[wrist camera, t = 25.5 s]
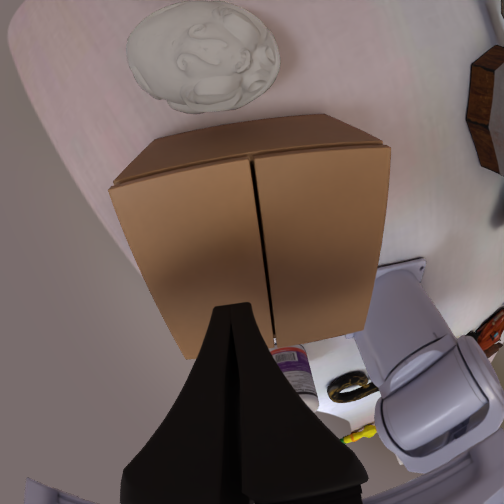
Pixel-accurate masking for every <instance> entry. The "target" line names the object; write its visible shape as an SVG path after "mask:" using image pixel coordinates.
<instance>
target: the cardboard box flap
mask: <svg viewBox="0 0 504 504" xmlns="http://www.w3.org/2000/svg"><path fill="white" fill-rule="evenodd" d="M108 192H109V194H110V197H111V200H112V203H113V206H114V208H115V211H116V214H117V216H118V219H119V221H120V224H121V227H122V229H123V232H124V234H125V237H126V239H127V241H128V244H129V246H130V249H131V251H132V253H133V256H134V258H135V260H136V262H137V265H138V267H139V269H140V271H141V274H142V276H143V278H144V280H145V282H146V284H147V286H148V288H149V291H150V293H151V295H152V297H153V299H154V301H155V303H156V305H157V307H158V309H159V311H160V313H161V315H162V317H163V319H164V321H165V322H166V324H167V326H168V328H169V330H170V332H171V334H172V336H173V337H174V339H175V341H176V343H177V345H178V346H179V348H180V350H181V352H182V353H183V355H184V357H185V359H186V360H187V359H196V358H197V356H198V353H199V351H200V348H201V346H202V343H203V340H204V338H205V335H206V332H207V329H208V325H209V322H210V318H211V315H212V310H213V308H214V307H215V306H222V305H229V304H235V303H242V302H249V303H251V305H252V310H253V314H254V317H255V320H256V323H257V325H258V328H259V330H260V333H261V335H262V337H263V339H264V341H265V343H266V345H267V347H268V349H269V348H274V347H275V346H274V339H273V331H272V323H271V315H270V307H269V300H268V292H267V285H266V277H265V270H264V262H263V255H262V247H261V240H260V233H259V225H258V218H257V211H256V204H255V197H254V190H253V183H252V175H251V169H250V162H249V158H248V157H240V158H234V159H228V160H223V161H217V162H212V163H207V164H201V165H196V166H192V167H187V168H182V169H177V170H173V171H169V172H164V173H160V174H156V175H152V176H148V177H144V178H140V179H136V180H132V181H128V182H125V183H121V184H118V185H114V186H111V187H110V188H109V190H108Z"/></svg>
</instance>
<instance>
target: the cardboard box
mask: <svg viewBox="0 0 504 504" xmlns="http://www.w3.org/2000/svg"><path fill="white" fill-rule="evenodd" d="M240 157H248V158H249V162H250V169H251V175H252V183H253V190H254V197H255V204H256V211H257V218H258V225H259V233H260V240H261V247H262V255H263V262H264V270H265V277H266V285H267V292H268V300H269V307H270V315H271V323H272V331H273V338H276V343H277V348H282V347H288V346H293V345H298V344H304V343H309V342H314V341H319V340H323V339H328V338H333V337H337V336H342V335H346V334H350V333H354V332H358V331H362V330H364V326H365V322H366V318H367V314H368V310H369V306H370V301H371V297H372V292H373V288H374V283H375V278H376V273H377V268H378V262H379V256H380V250H381V244H382V238H383V231H384V224H385V216H386V207H387V198H388V188H389V175H390V160H391V147H389V146H387V145H383V141H382V140H380V139H378V138H376V137H374V136H372V135H370V134H368V133H366V132H364V131H362V130H360V129H357V128H355V127H353V126H351V125H349V124H347V123H344V122H342V121H340V120H338V119H335V118H333V117H331V116H328V115H326V114H313V115H299V116H287V117H277V118H268V119H260V120H252V121H245V122H238V123H232V124H226V125H220V126H214V127H209V128H204V129H199V130H194V131H189V132H184V133H180V134H176V135H171V136H167V137H163V138H159V139H155V140H154V141H153V142H152V143H151V144H150V145H148V146H147V147H146V148H145V149H144V150H143V151H142V152H141V153H140V154H139V155H138V156H137V157H136V158H135V159H134V160H133V161H132V162H131V163H130V164H129V165H128V166H127V167H126V168H125V169H124V170H123V171H122V172H121V174H120V175H119V176H118V177H117V178H116V179H115V180H114V181H113V183H114V185H118V184H121V183H125V182H128V181H132V180H136V179H140V178H144V177H148V176H152V175H156V174H160V173H164V172H169V171H173V170H177V169H182V168H187V167H192V166H196V165H201V164H207V163H212V162H217V161H223V160H228V159H234V158H240Z"/></svg>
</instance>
